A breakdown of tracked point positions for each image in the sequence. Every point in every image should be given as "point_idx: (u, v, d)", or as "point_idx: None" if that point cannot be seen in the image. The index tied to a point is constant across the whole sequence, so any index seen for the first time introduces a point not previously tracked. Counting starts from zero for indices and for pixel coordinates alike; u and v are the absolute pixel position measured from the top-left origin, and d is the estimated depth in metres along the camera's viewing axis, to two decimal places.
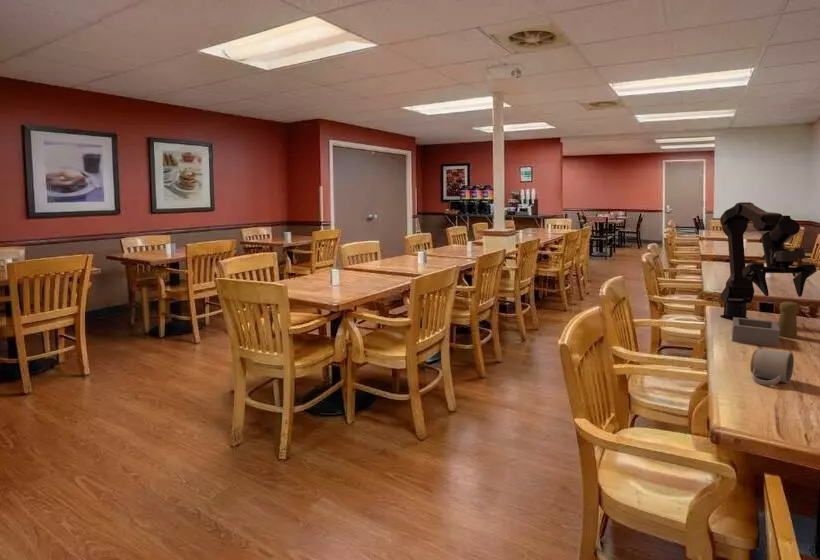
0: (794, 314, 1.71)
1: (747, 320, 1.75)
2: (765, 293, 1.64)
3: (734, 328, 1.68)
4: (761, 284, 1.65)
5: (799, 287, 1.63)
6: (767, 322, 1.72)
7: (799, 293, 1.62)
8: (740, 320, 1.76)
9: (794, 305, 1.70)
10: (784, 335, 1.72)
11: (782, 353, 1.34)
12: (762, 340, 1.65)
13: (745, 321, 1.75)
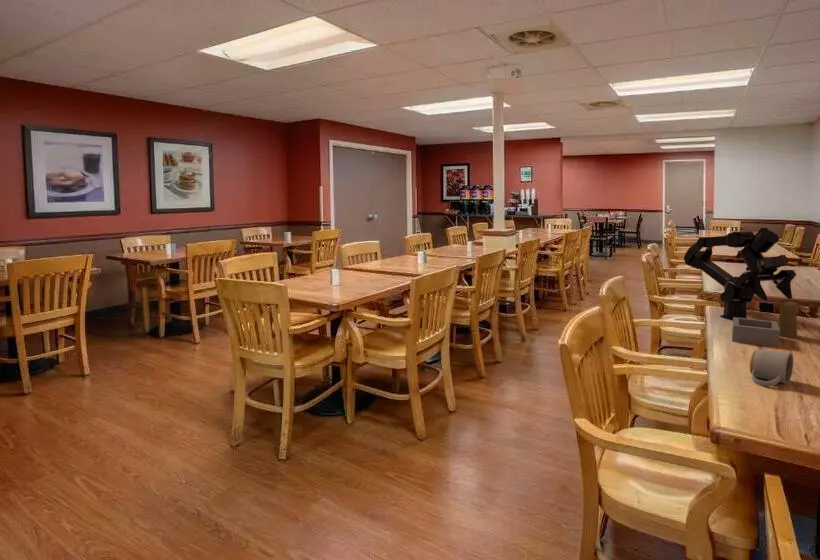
0: (794, 314, 1.71)
1: (747, 320, 1.75)
2: (764, 297, 1.76)
3: (734, 328, 1.68)
4: (758, 290, 1.77)
5: (787, 290, 1.78)
6: (767, 322, 1.72)
7: (789, 295, 1.77)
8: (740, 320, 1.76)
9: (794, 305, 1.70)
10: (784, 335, 1.72)
11: (781, 353, 1.33)
12: (762, 340, 1.65)
13: (745, 321, 1.75)
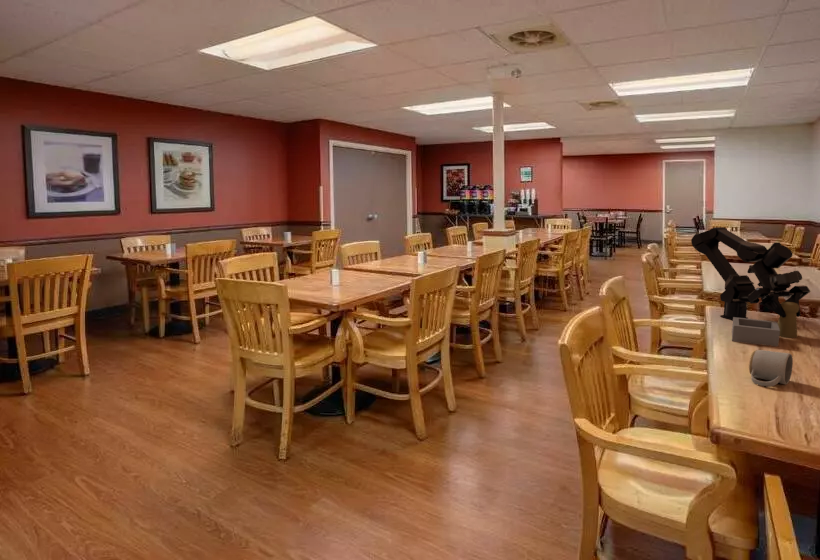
0: (794, 314, 1.71)
1: (747, 320, 1.75)
2: (782, 314, 1.72)
3: (734, 328, 1.68)
4: (776, 307, 1.73)
5: None
6: (767, 322, 1.72)
7: (797, 313, 1.72)
8: (740, 320, 1.76)
9: (794, 305, 1.70)
10: (784, 335, 1.72)
11: (781, 354, 1.33)
12: (762, 340, 1.65)
13: (745, 321, 1.75)
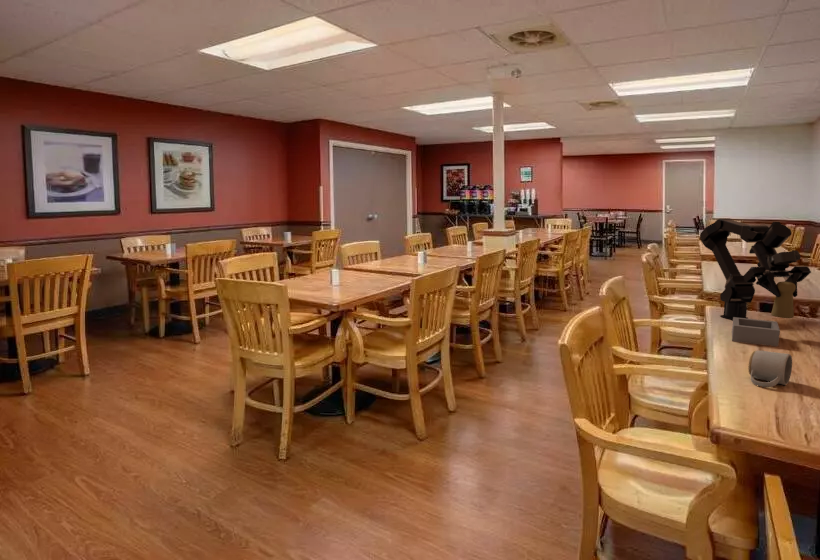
0: (790, 294, 1.68)
1: (747, 320, 1.75)
2: (777, 294, 1.69)
3: (734, 328, 1.68)
4: (771, 286, 1.70)
5: None
6: (767, 322, 1.72)
7: (794, 293, 1.69)
8: (740, 320, 1.76)
9: (789, 285, 1.67)
10: (779, 315, 1.70)
11: (780, 355, 1.33)
12: (762, 340, 1.65)
13: (745, 321, 1.75)
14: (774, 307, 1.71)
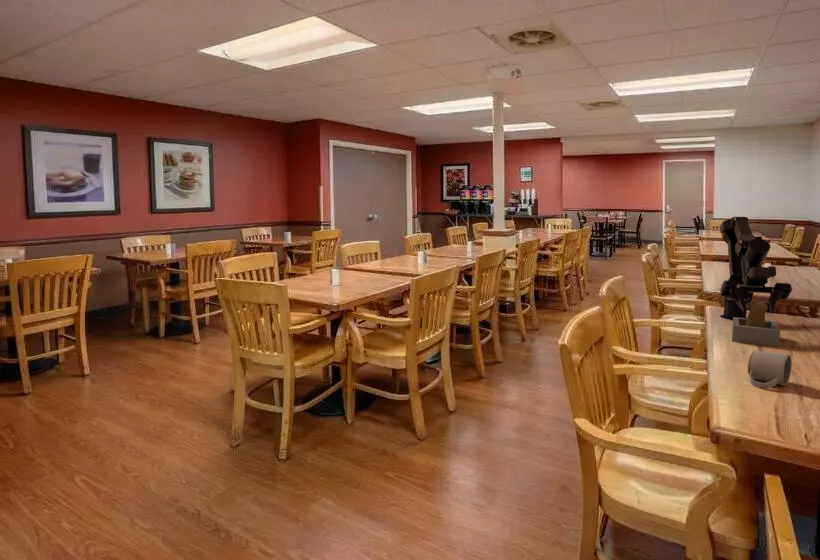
0: (759, 314, 1.67)
1: None
2: (742, 309, 1.70)
3: (734, 328, 1.68)
4: (739, 300, 1.71)
5: (771, 304, 1.68)
6: (767, 322, 1.72)
7: (771, 310, 1.67)
8: (740, 320, 1.76)
9: (758, 304, 1.67)
10: None
11: (780, 355, 1.32)
12: (762, 340, 1.65)
13: (745, 321, 1.75)
14: None
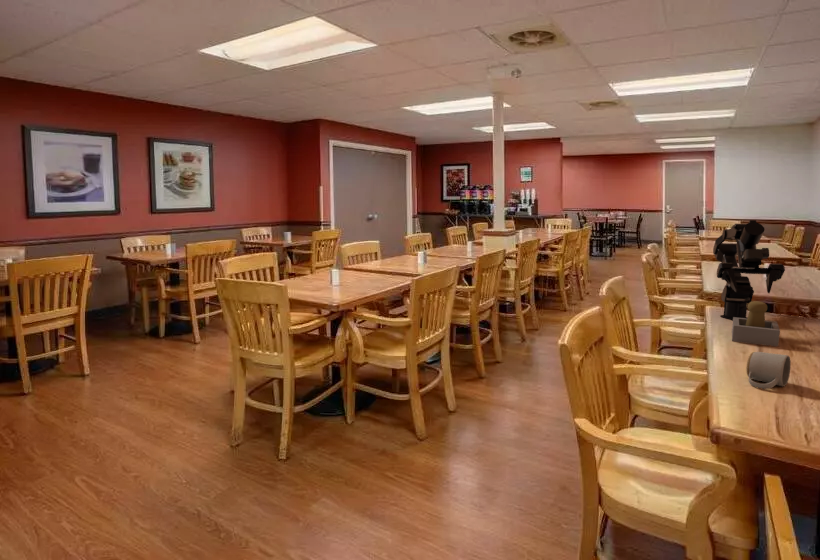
0: (759, 314, 1.67)
1: None
2: (734, 289, 1.77)
3: (734, 328, 1.68)
4: (731, 281, 1.79)
5: (768, 284, 1.75)
6: (767, 322, 1.72)
7: (768, 289, 1.74)
8: (740, 320, 1.76)
9: (758, 304, 1.67)
10: None
11: (779, 356, 1.32)
12: (762, 340, 1.65)
13: (745, 321, 1.75)
14: None
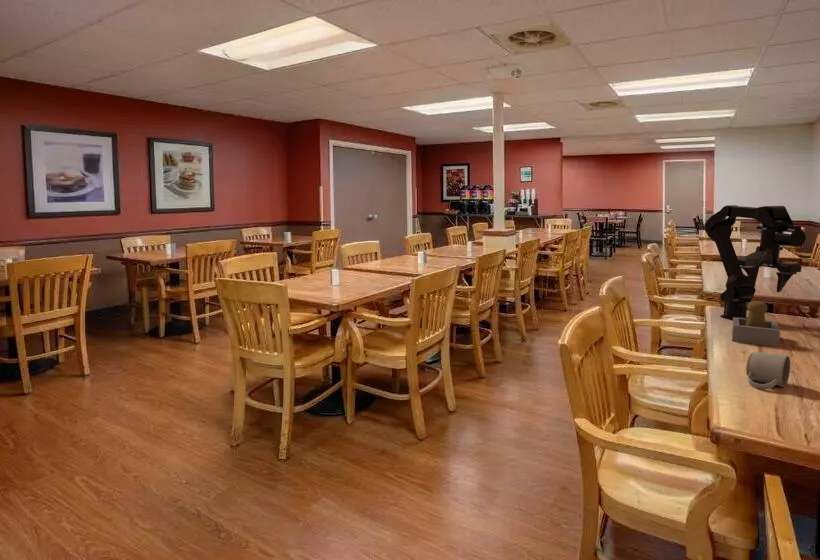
0: (759, 314, 1.67)
1: None
2: None
3: (734, 328, 1.68)
4: None
5: None
6: (767, 322, 1.72)
7: None
8: (740, 320, 1.76)
9: (758, 304, 1.67)
10: None
11: (778, 356, 1.31)
12: (762, 340, 1.65)
13: (745, 321, 1.75)
14: None
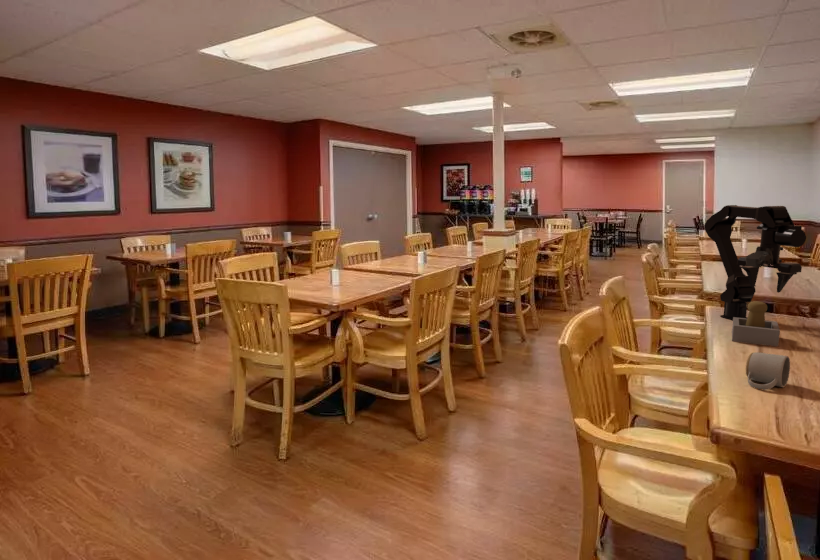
0: (759, 314, 1.67)
1: None
2: None
3: (734, 328, 1.68)
4: None
5: None
6: (767, 322, 1.72)
7: None
8: (740, 320, 1.76)
9: (758, 304, 1.67)
10: None
11: (778, 356, 1.31)
12: (762, 340, 1.65)
13: (745, 321, 1.75)
14: None
